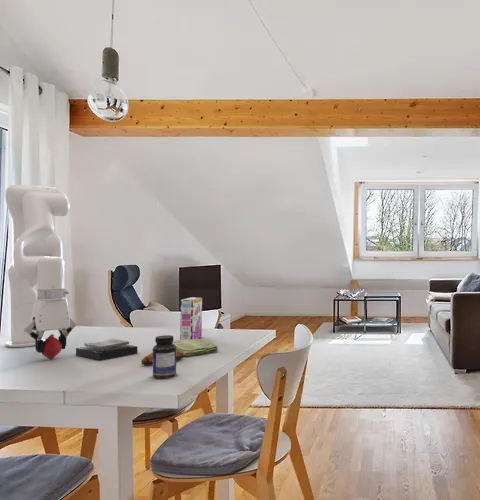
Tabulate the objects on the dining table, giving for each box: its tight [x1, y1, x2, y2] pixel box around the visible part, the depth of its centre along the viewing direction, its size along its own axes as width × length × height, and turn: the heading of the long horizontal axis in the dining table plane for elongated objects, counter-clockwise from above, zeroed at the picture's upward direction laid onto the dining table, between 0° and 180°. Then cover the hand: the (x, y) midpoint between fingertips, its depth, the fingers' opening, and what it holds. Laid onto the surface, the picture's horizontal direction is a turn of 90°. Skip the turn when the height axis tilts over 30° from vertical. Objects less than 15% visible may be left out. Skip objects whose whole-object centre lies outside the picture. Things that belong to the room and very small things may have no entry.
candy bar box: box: [179, 296, 203, 341], centre depth 188 cm, size 11×5×16 cm, turn 178°
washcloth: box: [173, 338, 219, 357], centre depth 167 cm, size 13×18×3 cm
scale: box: [75, 344, 138, 361], centre depth 162 cm, size 15×13×3 cm
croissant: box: [140, 350, 185, 366], centre depth 149 cm, size 14×7×5 cm, turn 138°
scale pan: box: [83, 338, 130, 349], centre depth 162 cm, size 10×10×1 cm
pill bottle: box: [152, 334, 177, 380], centre depth 133 cm, size 6×6×11 cm
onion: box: [41, 333, 63, 360], centre depth 155 cm, size 6×6×8 cm
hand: (51, 349), depth 155 cm, fingers closed on onion, 5 cm apart
